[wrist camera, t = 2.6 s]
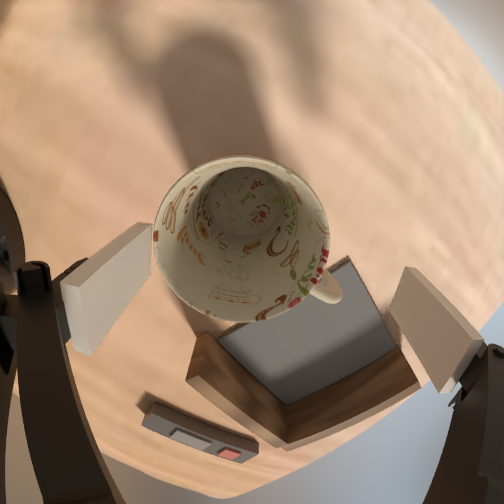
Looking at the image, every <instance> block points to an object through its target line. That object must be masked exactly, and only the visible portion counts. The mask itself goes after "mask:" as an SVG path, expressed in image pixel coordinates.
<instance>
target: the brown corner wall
mask: <svg viewBox="0 0 504 504" xmlns="http://www.w3.org/2000/svg"><path fill="white" fill-rule="evenodd" d="M185 381H186V382H187V383H188V384H189V385H190V386H192V387H193V388H194V389H195V390H196V391H198V392H199V393H200V394H201V395H203V396H204V397H205V398H206V399H208V400H209V401H210V402H211V403H213V404H214V405H215V406H217V407H218V408H219V409H220V410H222V411H223V412H224V413H226V414H227V415H228V416H230V417H231V418H233V419H234V420H235V421H237V422H238V423H239V424H241V425H242V426H244V427H245V428H247V429H248V430H249V431H251V432H252V433H254V434H255V435H257V436H258V437H260V438H261V439H263V440H264V441H266V442H267V443H269V444H270V445H272V446H274V447H275V448H278V447H281V448H283V449H284V450H286V451H290V450H293V449H296V448H298V447H301V446H304V445H307V444H309V443H312V442H315V441H317V440H320V439H322V438H325V437H327V436H330V435H332V434H334V433H337V432H339V431H341V430H344V429H346V428H348V427H350V426H352V425H355V424H357V423H359V422H361V421H363V420H365V419H367V418H369V417H371V416H373V415H375V414H377V413H379V412H381V411H383V410H384V409H386V408H388V407H390V406H392V405H394V404H395V403H397V402H399V401H401V400H402V399H404V398H406V397H407V396H409V395H411V394H412V393H414V392H416V391H417V390H419V389H421V386H420V383H419V381H418V379H417V377H416V376H415V374H414V372H413V370H412V368H411V367H410V365H409V363H408V361H407V360H406V358H405V356H404V354H403V353H402V351H401V349H400V347H399V346H398V345H396V348H394V349H393V350H391V351H390V352H388V353H386V354H385V355H383V356H381V357H380V358H378V359H376V360H375V361H373V362H371V363H370V364H368V365H366V366H364V367H363V368H361V369H359V370H357V371H355V372H354V373H352V374H350V375H348V376H346V377H344V378H342V379H340V380H338V381H337V382H335V383H333V384H331V385H329V386H327V387H325V388H323V389H321V390H318V391H316V392H314V393H312V394H310V395H308V396H306V397H304V398H301V399H299V400H297V401H295V402H292V403H290V404H288V405H286V404H284V403H283V402H282V401H280V400H279V399H278V398H277V397H276V396H275V395H274V394H273V393H271V392H270V391H269V390H268V389H267V388H266V387H265V386H264V385H263V384H261V383H260V382H259V381H258V380H257V379H256V378H255V377H254V376H253V375H252V374H251V373H250V372H249V371H247V370H246V369H245V368H244V367H243V366H242V365H241V364H240V363H239V362H238V361H237V360H236V359H235V358H234V357H233V356H232V355H231V354H230V353H229V352H228V351H227V350H226V349H225V348H224V347H223V346H222V345H221V344H220V343H219V342H218V341H217V340H216V339H215V338H214V337H213V336H212V335H211V334H210V333H209V332H207V333H205V334H203V335H201V336H200V337H198V338H197V339H196V343H195V346H194V350H193V354H192V357H191V361H190V365H189V369H188V372H187V376H186V380H185Z"/></svg>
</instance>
